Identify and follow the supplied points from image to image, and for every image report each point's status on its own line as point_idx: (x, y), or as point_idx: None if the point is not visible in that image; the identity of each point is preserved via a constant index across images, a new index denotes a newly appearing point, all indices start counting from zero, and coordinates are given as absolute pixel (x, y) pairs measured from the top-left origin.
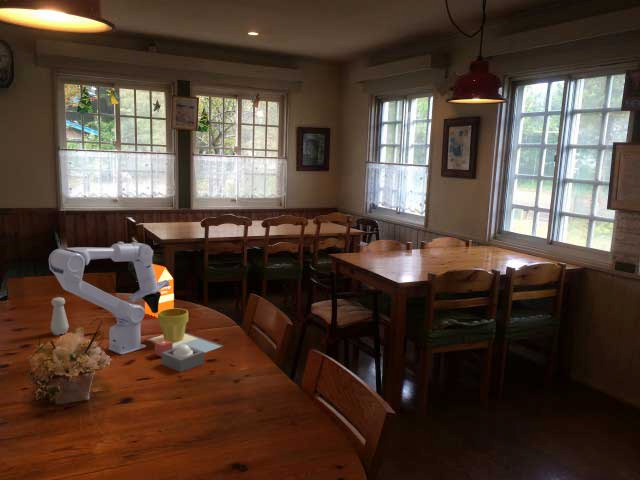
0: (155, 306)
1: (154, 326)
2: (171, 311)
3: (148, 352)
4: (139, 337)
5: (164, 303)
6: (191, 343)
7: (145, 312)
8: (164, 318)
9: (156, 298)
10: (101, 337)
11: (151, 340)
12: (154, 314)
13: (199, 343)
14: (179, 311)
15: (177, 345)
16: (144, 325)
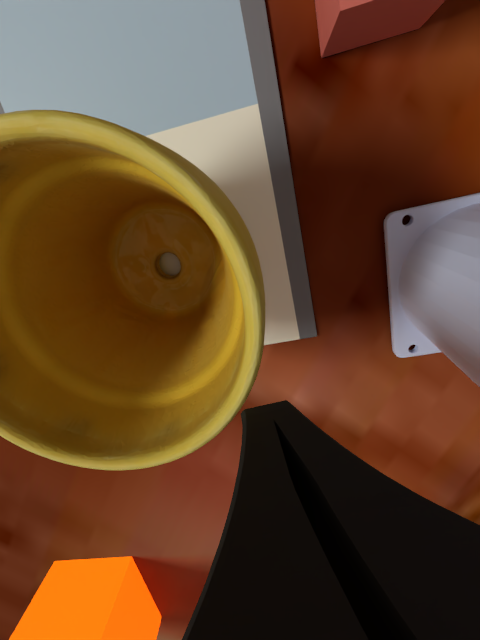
0: (302, 457)
1: (187, 483)
2: (76, 431)
3: (428, 108)
4: (474, 231)
5: (64, 635)
6: (97, 92)
7: (159, 620)
8: (239, 229)
9: (329, 634)
10: (471, 494)
11: (296, 310)
12: (137, 585)
13: (44, 50)
14: (2, 389)
15: (198, 115)
16: (223, 516)
